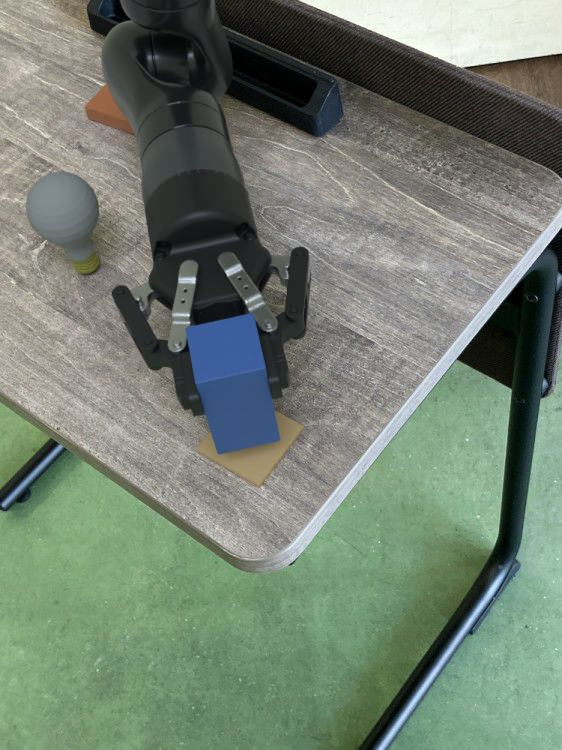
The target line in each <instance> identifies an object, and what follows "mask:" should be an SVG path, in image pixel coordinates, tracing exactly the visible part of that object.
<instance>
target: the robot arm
mask: <svg viewBox="0 0 562 750" xmlns="http://www.w3.org/2000/svg"><path fill="white" fill-rule="evenodd" d="M119 3H120V5H121V9H123V12H124V13H125V15H126V16H127V17H128V18H129V19H130V20H126V21H122V22H120V23H117V24H116V25H115V26H113V27H112V28H111V29H110V30H109V31H108V33H107V35H106V36H105V38H104V40H103V42H102V45H101V51H100V65H101V70H102V71H101V72H102V75H103V77H104V81H105V84H107V87H108V89H109V91H110V93H111V95H112V97H113V99H114V101H115V102H116V104H117V106H118V107H119V109H120V110H121V112H122V113H123V115H124V116H125V118H126V119H127V120H128V122H129V124H130V125H131V127H132V129H133V131H134V133H135V135H134V136H135V139H136V143H137V145H136V146H137V151H138V157H139V162H140V168H141V178H140V180H141V182H140V183H141V185H140V187H141V188H140V189H141V197H142V203H143V209H144V214H145V221H146V227H147V233H148V239H149V245H150V251H151V257H152V268H151V271H150V273H149V276H148V279H147V280H148V282H145V283H143V284H140V285H139V286H136V287H135V288H134V287H133V288H132V289H130V288H129V287H128V286H127V285H124V284H119V285H117V286H115V287H114V288H113V289H112V290H111V297H112V299H113V303H114V304H115V307H116V309H117V312H118V314H119V317H120V319H121V321H122V323H123V324H124V326H125V328H126V330H127V332H128V334H129V335H130V338H131V339H132V341H133V343H134V344H135V347H136V348H137V350H138V352H139V354H140V355H141V358H142V360H143V361H144V363H145V365H146V367H147V368H148V369H149V370H150V371H153V372H155V371H156V372H157V371H159V370H162V369H163V368H167V369H170V370H171V371H172V375H173V376H172V377H173V382H174V387H175V394H176V396H177V400H178V403H179V404H180V406H181V407H182V409H183V410H184V411H189V410H191V413H192V417H194V418H195V417H200V416H204V415H205V413H204V408H203V405H202V402H201V399H200V396H199V393H198V391H197V387H196V384H195V379H194V374H193V368H192V362H191V357H190V351H189V346H188V340H187V334H186V327H191V326H196V325H200V324H205V323H209V322H214V321H218V320H223V319H227V318H232V317H237V316H241V315H246V314H250V313H253V314H254V318H255V322H256V326H257V331H258V335H259V339H260V344H261V348H262V352H263V357H264V361H265V365H266V370H267V375H268V376H267V377H268V382H269V387H270V392H271V396H272V400H273V401H274V400H277V399H282V398H284V397H283V396H284V395H283V389H287V388H290V384H291V383H290V382H291V377H290V371H289V365H288V362H287V358H286V354H285V349H284V345H285V344H286V343H287V342H289V341H290V340H294V341H295V340H296V341H297V340H301V339H303V338H304V337H305V336H306V334H307V328H308V327H307V325H308V318H309V317H308V316H309V306H310V294H311V282H312V269H311V262H310V253H309V249H308V248H307V247H305V246H296V247H294V248H293V249H292V250H291V251H290V254H271V253H270V251H269V250H268V249H267V248H266V246H264V245H263V244H262V242H260V237H259V234H258V229H257V225H256V223H255V217H254V213H253V210H252V206H251V202H250V195H249V191H248V189H247V185H246V182H245V177H244V174H243V170H242V168H241V166H240V162H239V160H238V159H237V156H236V154H235V152H234V151H235V150H234V147H233V144H232V139H231V135H230V132H229V127H228V123H227V119H226V115H225V112H224V111H223V108H222V106H221V104H220V103H219V100H220V99H221V98H222V97H223V96H224V95H225V94H226V92H227V91H228V89H229V87H230V85H231V83H232V81H233V74H234V63H233V56H232V51H231V47H230V44H229V41H228V38H227V35H226V32H225V29H224V27H223V24H222V22H221V19H220V17H219V13H218V10H217V6H216V0H119ZM272 275H276V276H277V277H278V278H279V283H280V284H281V286H282V287H285V288H286V296H285V303H284V311H282V312H280V313H279V314H277V315H275V314H274V313H273V312H272V310H271V308H269V306H268V305H267V304H266V302H265V300H264V299H265V298H264V297H263V294H262V293H263V291H264V289H265V288H266V286H267V284H268V282H269V280H270V279H271V277H272ZM155 300H156V301H157V302H158V303H160V304H161V305H162V306H164V307H165V308H167V309H168V310H169V311H171V326H170V332H169V336H168V339H163V338H162V339H160V338H158V337H157V336H156V334H155V332H154V331H153V328H152V327H151V325H150V323H149V322H148V320H149V317H150V316H151V314H152V308H151V306H152V303H153V302H154V301H155Z"/></svg>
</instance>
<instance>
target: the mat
mask: <svg viewBox="0 0 562 750" xmlns="http://www.w3.org/2000/svg"><path fill="white" fill-rule="evenodd" d="M275 415H276V420H277V425H278V430H279V435H280V441H278V442H273V443H269V444H264V445H260V446H255V447H251V448H246V449H242V450H237V451H233V452H228V453H224V454H219V455H218V453H217V450H216V447H215V444H214V441H213V438H212V435H211V431H210V430H209V432H208V433H207V434H206V435H205V436H204V438H203V439H202V440H201V441H200V443H198V446H197V447H195V450H196V452H197V453H198V454H200V455H202V456H204V457H206V458H207V459H209V460H210V461H213V462H214V463H216V464H217V465H220V466H221V467H222V468H225V469H226V470H228V471H230V472H231V473H233V474H235V475H236V476H238V477H240V478H242V479H243V480H245V481H247V482H249V483H251V484H252V485H254V486H256V487H257V488H261V487H262V485H263V484H264V482H266V480H267V479H268V477H269V476H270V475H271V473H272V472H273V471H274V469H275V468H276V466H278V465H279V463H280V461H281V460H282V459H283V457H284V456H285V455H286V453H287V452H288V451H289V450H290V448H291V447H292V445H293V444H294V443H295V442H296V440H297V439H298V437H300V435H301V433H303V431H304V429H305V426H304V425H303V424H302V423H299V422H297V421H295V420H293V419H292V418H290V417H288V416H287V415H285V414H283V413H281V412H279V411H277V410H275Z"/></svg>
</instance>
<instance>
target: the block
mask: <svg viewBox="0 0 562 750" xmlns="http://www.w3.org/2000/svg"><path fill="white" fill-rule="evenodd" d="M186 334H187V340H188V346H189V351H190V357H191V362H192V368H193V374H194V379H195V384H196V387H197V391H198V393H199V396H200V399H201V402H202V405H203V408H204V413H205V414H204V415H205V419H206V421H207V422H206V423H207V425H208V428H209V432H210V431H211V435H212V438H213V441H214V444H215V447H216V450H217V453H218V455H219V454H224V453H228V452H233V451H237V450H242V449H246V448H251V447H255V446H260V445H264V444H269V443H273V442H278V441H280V435H279V430H278V425H277V420H276V415H275V411H276V410H275V405H274V399H273V400H272V396H271V392H270V387H269V382H268V377H267V376H268V375H267V370H266V365H265V361H264V357H263V352H262V348H261V344H260V339H259V335H258V331H257V326H256V322H255V318H254V314H253V313H250V314H246V315H241V316H237V317H232V318H227V319H223V320H218V321H214V322H209V323H205V324H200V325H196V326H191V327H186Z"/></svg>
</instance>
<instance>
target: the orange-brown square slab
mask: <svg viewBox="0 0 562 750" xmlns="http://www.w3.org/2000/svg"><path fill="white" fill-rule="evenodd" d="M84 110H85V113H86V117H87V119H88V120H91V121H93V122H97V123H99V124H102V125H104V126H105V125H106V126H107V127H111V128H114V129H117V130H120V131H122V132H126V133H128V134H131V135H134V136H135V133H134V131H133V129H132V127H131V125H130V124H129V122H128V120H127V119H126V118H125V116H124V115H123V113H122V112H121V110H120V109H119V107H118V106H117V104H116V102H115V101H114V99H113V97H112V95H111V93H110V91H109V89H108V87H107V84H106V83H105V84H104V85H103V86H102V87H101V88H100V89H99V90H98V91H97V93H96V94H94V96H93V97H92V98H91V99H90V100H89V101H87V103H86V104H85V105H84Z"/></svg>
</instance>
